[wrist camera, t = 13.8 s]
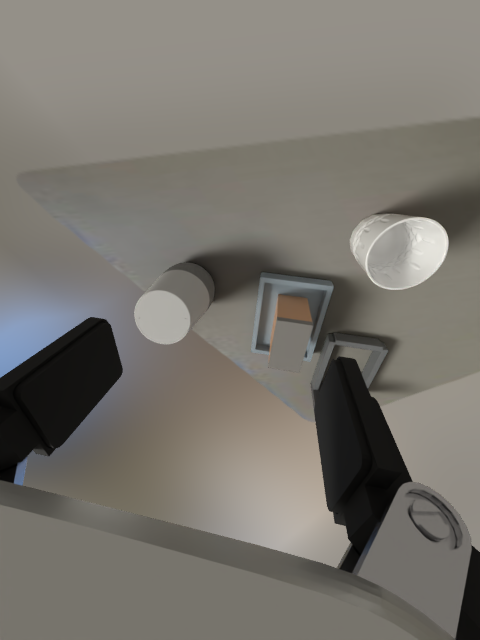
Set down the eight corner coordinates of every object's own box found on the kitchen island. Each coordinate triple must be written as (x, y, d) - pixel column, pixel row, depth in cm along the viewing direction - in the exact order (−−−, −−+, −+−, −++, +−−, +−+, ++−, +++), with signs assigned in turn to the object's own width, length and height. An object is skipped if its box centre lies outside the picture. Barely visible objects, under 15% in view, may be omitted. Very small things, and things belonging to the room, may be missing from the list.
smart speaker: (214, 257, 39) (184, 289, 27) (221, 305, 43) (198, 350, 31) (163, 259, 40) (113, 290, 28) (175, 305, 45) (137, 348, 33)
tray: (331, 280, 37) (333, 286, 35) (309, 353, 45) (310, 361, 43) (261, 272, 38) (260, 277, 36) (252, 344, 47) (250, 351, 44)
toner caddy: (307, 297, 39) (313, 325, 31) (296, 340, 43) (299, 373, 36) (278, 294, 39) (276, 320, 32) (270, 336, 44) (267, 367, 36)
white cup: (356, 205, 31) (383, 212, 23) (415, 212, 31) (466, 222, 22) (338, 260, 35) (355, 284, 27) (389, 268, 35) (424, 294, 26)
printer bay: (384, 339, 41) (410, 379, 33) (357, 392, 48) (373, 435, 40) (328, 331, 42) (339, 368, 34) (310, 383, 49) (316, 424, 41)
